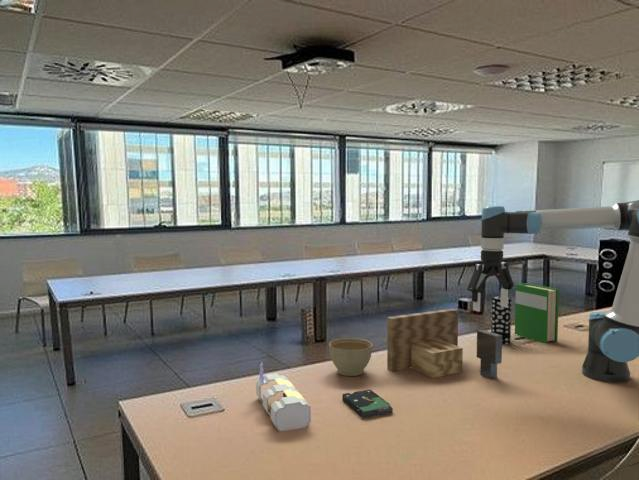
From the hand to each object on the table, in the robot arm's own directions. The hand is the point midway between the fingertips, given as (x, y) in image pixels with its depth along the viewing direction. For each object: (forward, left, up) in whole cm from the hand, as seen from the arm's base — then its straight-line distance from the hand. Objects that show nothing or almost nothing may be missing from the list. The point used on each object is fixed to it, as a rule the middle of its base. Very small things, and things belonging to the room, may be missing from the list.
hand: (490, 308), depth 176 cm
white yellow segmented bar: (+78, -7, -25) cm, 82 cm away
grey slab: (0, 0, -25) cm, 25 cm away
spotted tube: (-38, -30, -25) cm, 55 cm away
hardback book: (-57, -27, -25) cm, 68 cm away
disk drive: (+53, +2, -26) cm, 59 cm away
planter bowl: (+42, -27, -25) cm, 56 cm away
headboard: (+12, -16, -25) cm, 32 cm away
